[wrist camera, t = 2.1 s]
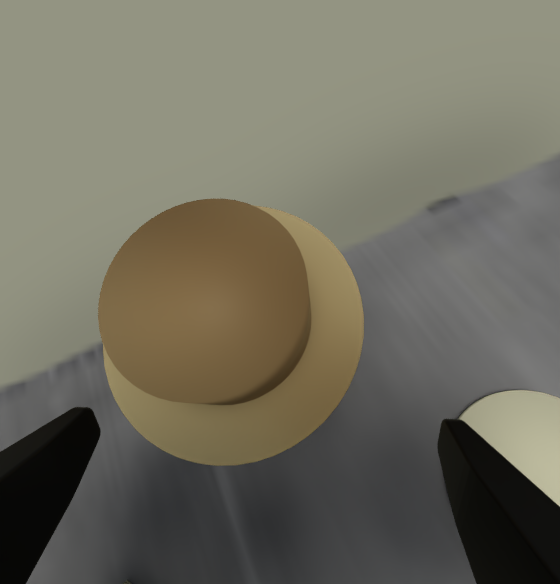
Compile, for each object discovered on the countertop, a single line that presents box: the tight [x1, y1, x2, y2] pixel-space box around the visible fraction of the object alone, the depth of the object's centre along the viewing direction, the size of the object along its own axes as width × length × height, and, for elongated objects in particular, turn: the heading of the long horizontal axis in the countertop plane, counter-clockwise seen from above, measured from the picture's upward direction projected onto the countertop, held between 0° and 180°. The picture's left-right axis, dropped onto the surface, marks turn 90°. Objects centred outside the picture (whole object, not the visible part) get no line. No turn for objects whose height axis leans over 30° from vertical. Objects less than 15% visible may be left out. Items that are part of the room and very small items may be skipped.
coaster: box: [458, 390, 560, 506], centre depth 15 cm, size 8×8×1 cm
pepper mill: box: [98, 199, 364, 466], centre depth 11 cm, size 5×5×14 cm
